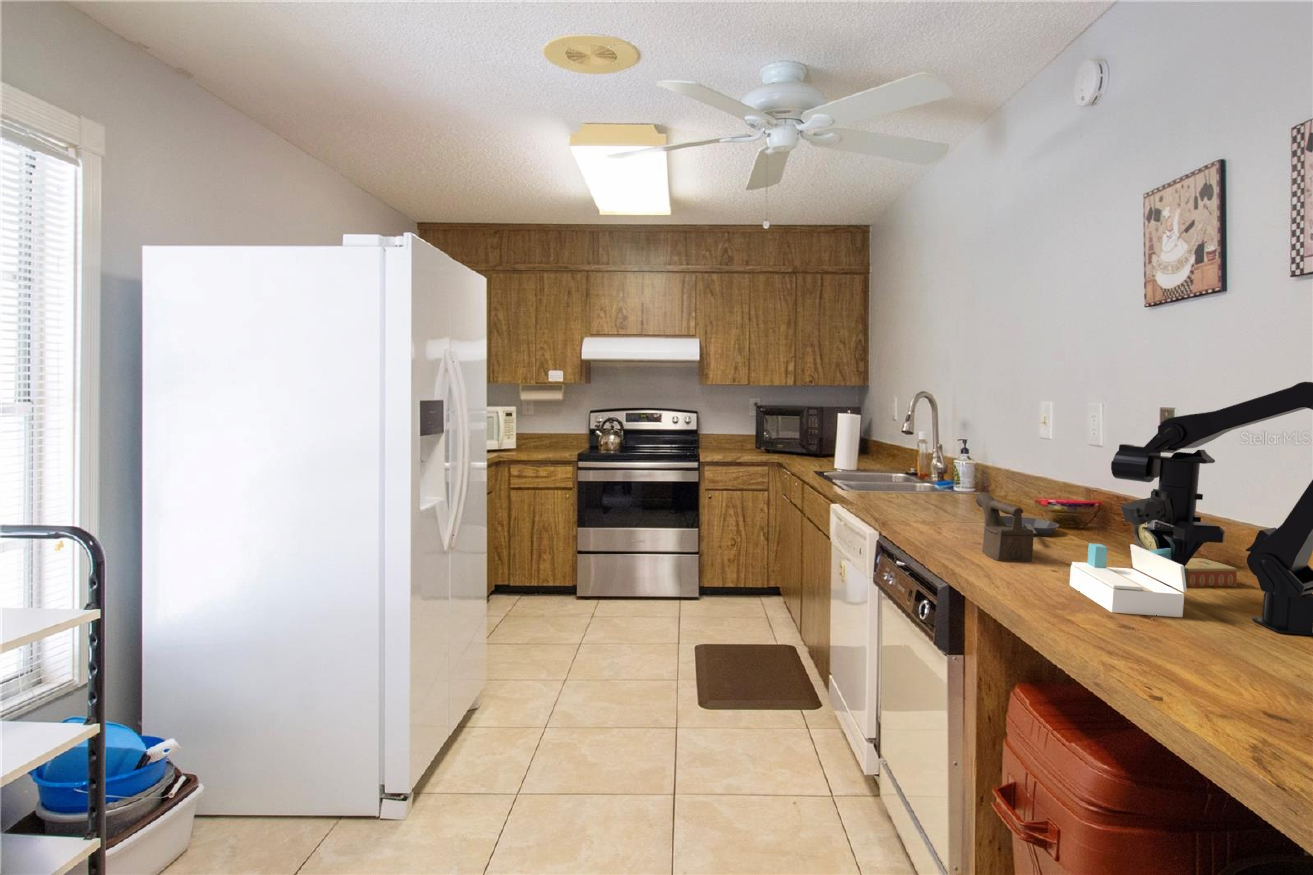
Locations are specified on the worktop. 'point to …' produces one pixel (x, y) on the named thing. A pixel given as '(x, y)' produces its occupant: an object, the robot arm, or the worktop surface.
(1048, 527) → the frying pan
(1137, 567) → the flap
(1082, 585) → the carton box
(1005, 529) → the clothes iron
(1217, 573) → the carton
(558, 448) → the worktop surface
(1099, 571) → the flap
